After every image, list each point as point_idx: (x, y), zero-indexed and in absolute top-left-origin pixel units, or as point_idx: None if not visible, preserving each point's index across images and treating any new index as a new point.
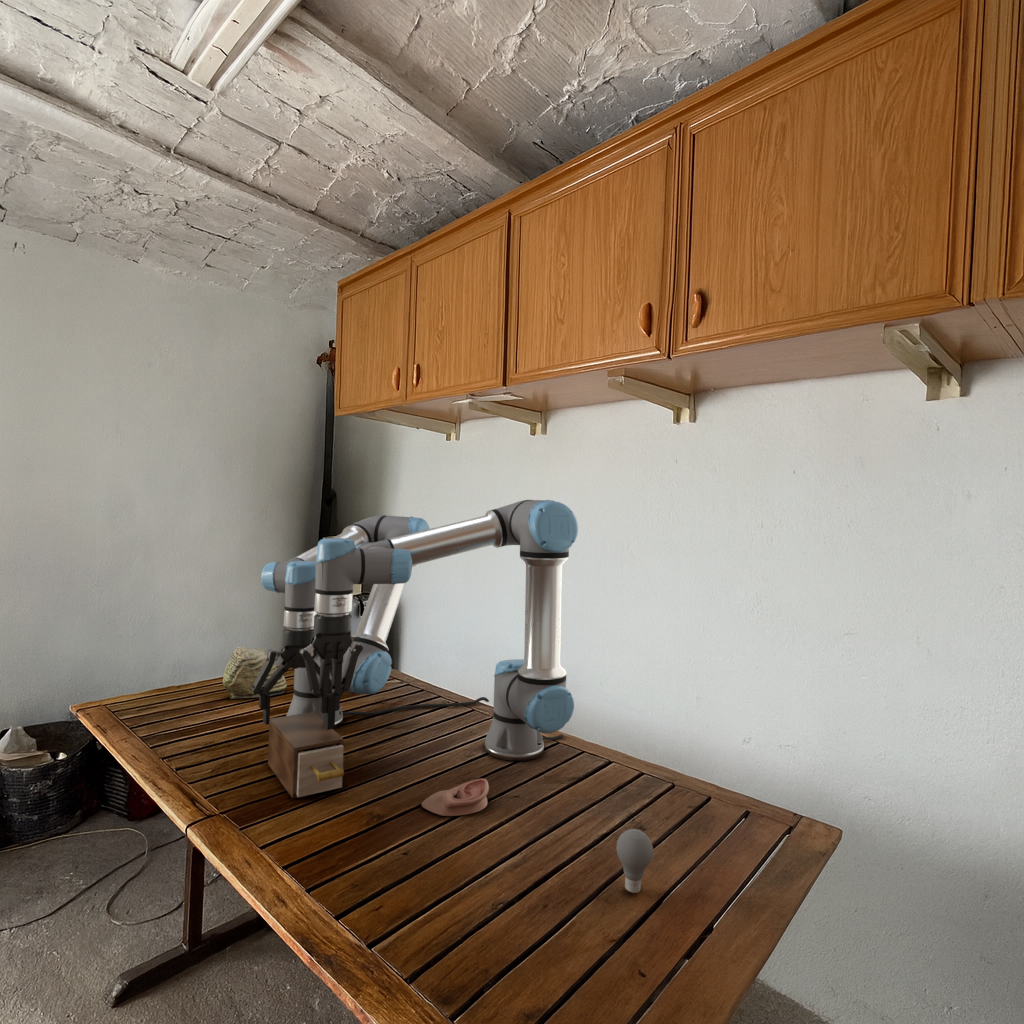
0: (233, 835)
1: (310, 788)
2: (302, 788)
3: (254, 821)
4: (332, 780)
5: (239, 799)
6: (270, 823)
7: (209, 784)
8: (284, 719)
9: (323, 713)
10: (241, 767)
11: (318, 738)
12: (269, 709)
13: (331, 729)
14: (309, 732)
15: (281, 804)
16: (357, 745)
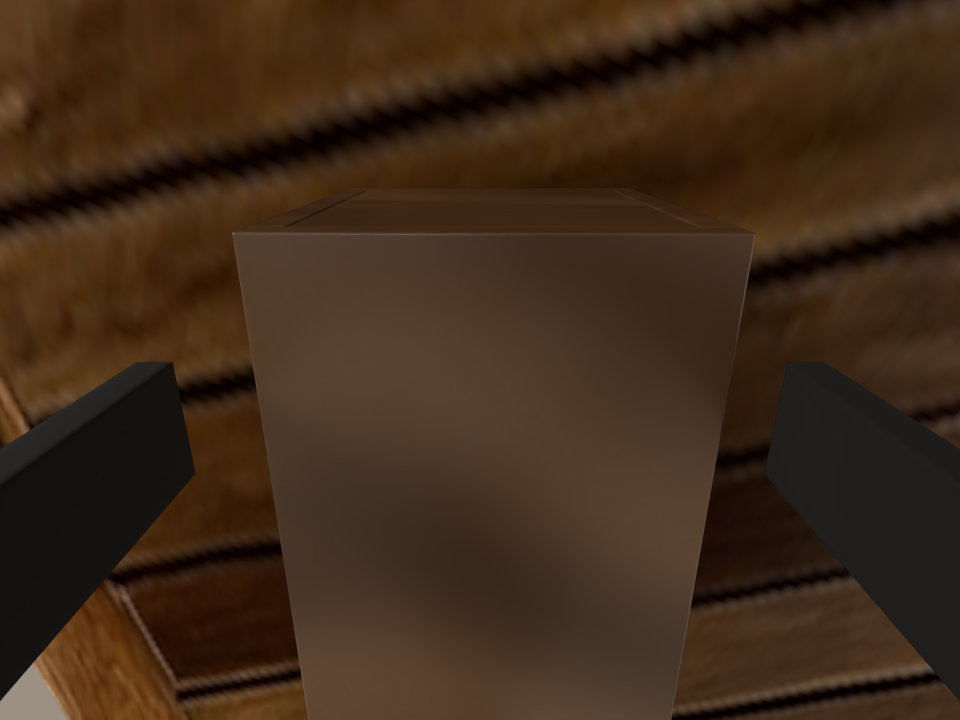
0: (156, 716)
1: None
2: None
3: (226, 674)
4: None
5: (179, 510)
6: (276, 705)
7: (35, 301)
8: (378, 336)
9: (779, 425)
10: (198, 156)
11: None
12: (96, 583)
13: (660, 707)
14: (492, 691)
15: None
16: (950, 168)
